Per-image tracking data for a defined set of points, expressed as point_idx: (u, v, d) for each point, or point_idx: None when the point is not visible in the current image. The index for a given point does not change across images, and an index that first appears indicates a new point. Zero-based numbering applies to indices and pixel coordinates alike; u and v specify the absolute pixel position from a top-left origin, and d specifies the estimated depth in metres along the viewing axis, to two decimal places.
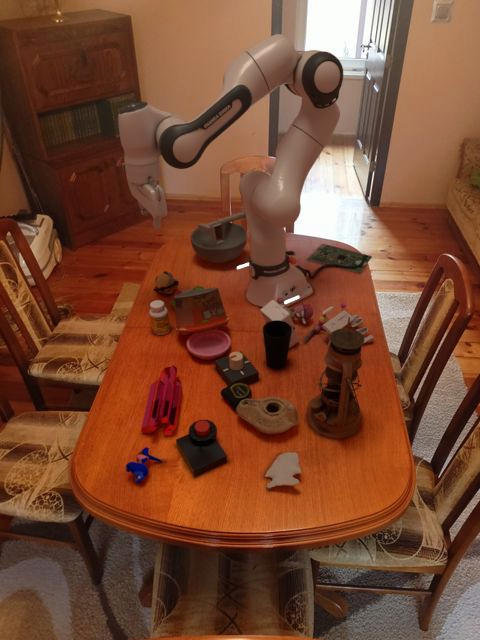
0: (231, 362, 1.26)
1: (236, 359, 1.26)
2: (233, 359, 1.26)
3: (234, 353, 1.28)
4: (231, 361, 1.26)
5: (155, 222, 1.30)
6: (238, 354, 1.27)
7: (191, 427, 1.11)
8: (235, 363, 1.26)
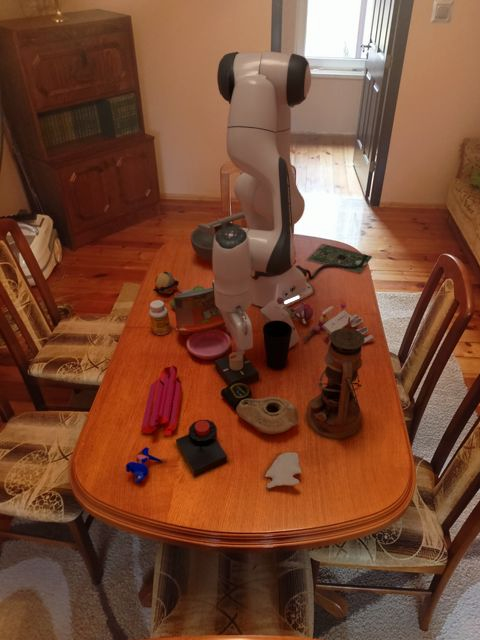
0: (231, 362, 1.26)
1: (236, 359, 1.26)
2: (233, 359, 1.26)
3: (234, 353, 1.28)
4: (231, 361, 1.26)
5: (238, 349, 1.18)
6: None
7: (191, 427, 1.11)
8: (235, 363, 1.26)
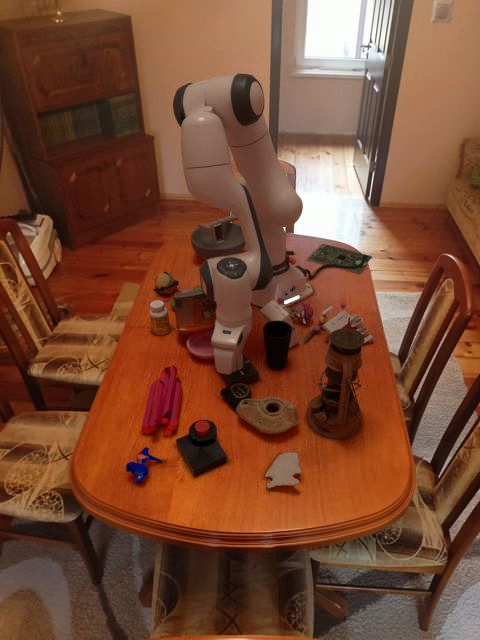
0: None
1: None
2: None
3: None
4: None
5: None
6: None
7: (191, 427, 1.11)
8: None
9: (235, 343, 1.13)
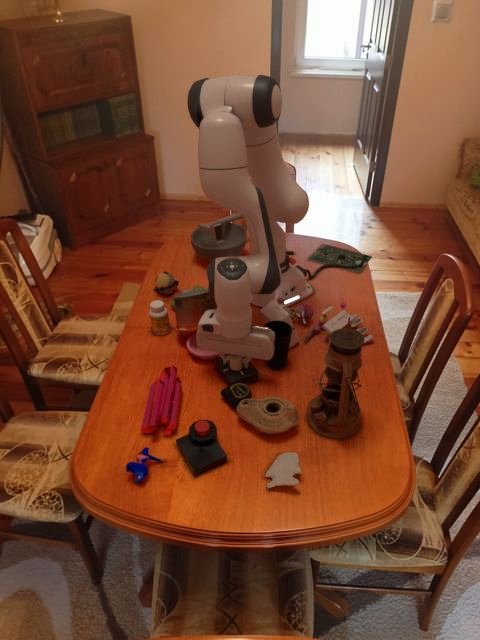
0: None
1: (230, 356, 1.27)
2: (231, 354, 1.27)
3: None
4: None
5: (248, 362, 1.26)
6: (238, 357, 1.26)
7: (191, 427, 1.11)
8: None
9: (199, 324, 1.19)
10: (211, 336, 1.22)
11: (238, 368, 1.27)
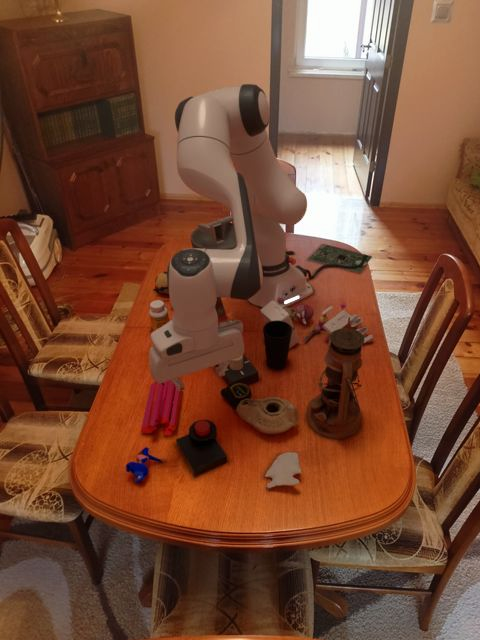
0: None
1: None
2: None
3: None
4: None
5: None
6: None
7: (191, 427, 1.11)
8: None
9: (161, 349, 0.91)
10: (173, 360, 0.96)
11: (238, 368, 1.27)
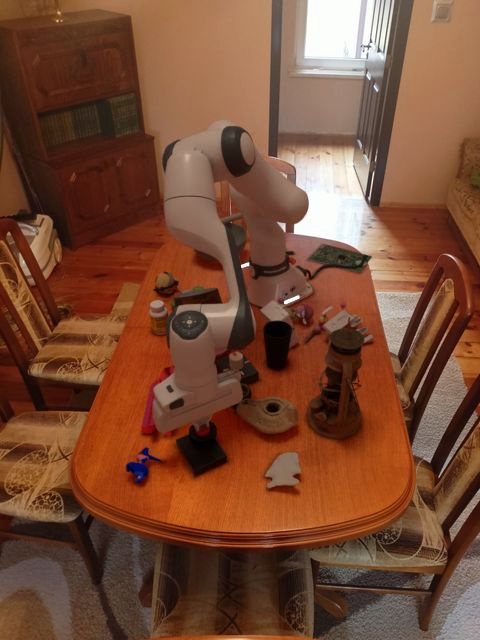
0: None
1: (230, 356, 1.27)
2: (231, 354, 1.27)
3: (240, 355, 1.27)
4: None
5: None
6: (238, 357, 1.26)
7: (191, 427, 1.11)
8: None
9: (164, 405, 0.96)
10: (176, 411, 1.01)
11: (238, 368, 1.27)
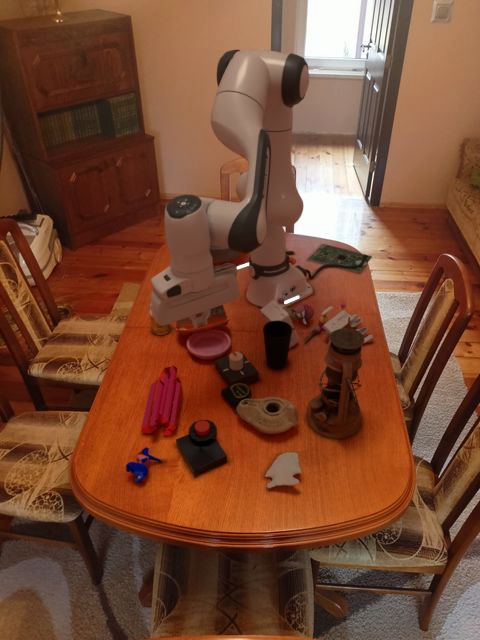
0: None
1: (230, 356, 1.27)
2: (231, 354, 1.27)
3: (240, 355, 1.27)
4: None
5: None
6: (238, 357, 1.26)
7: (191, 427, 1.11)
8: None
9: (162, 292, 0.98)
10: (174, 302, 1.03)
11: (238, 368, 1.27)
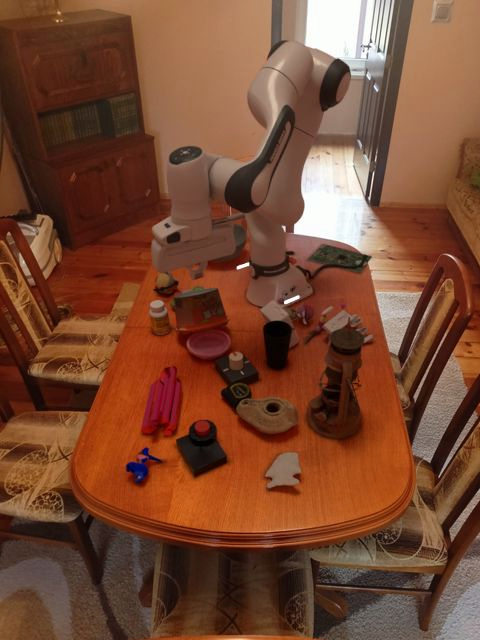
0: None
1: (230, 356, 1.27)
2: (231, 354, 1.27)
3: (240, 355, 1.27)
4: None
5: None
6: (238, 357, 1.26)
7: (191, 427, 1.11)
8: None
9: (162, 237, 1.04)
10: (173, 250, 1.08)
11: (238, 368, 1.27)
